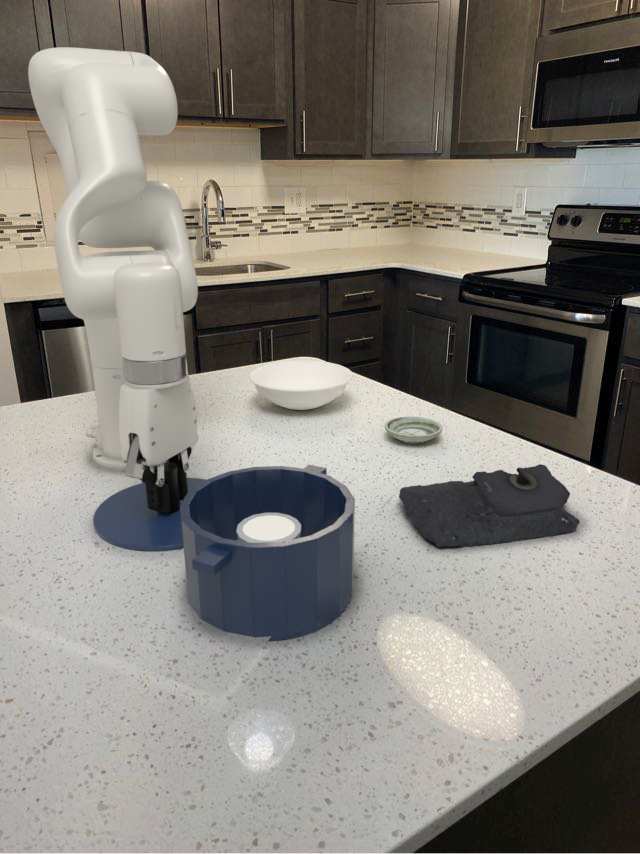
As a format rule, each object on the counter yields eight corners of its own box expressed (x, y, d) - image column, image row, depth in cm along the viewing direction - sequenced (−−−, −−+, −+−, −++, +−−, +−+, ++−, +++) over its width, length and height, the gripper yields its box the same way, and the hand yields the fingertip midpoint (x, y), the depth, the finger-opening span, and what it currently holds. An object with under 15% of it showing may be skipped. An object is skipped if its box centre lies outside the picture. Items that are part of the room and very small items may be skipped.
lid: (61, 533, 83) (52, 482, 81) (158, 475, 99) (154, 430, 97) (184, 570, 75) (179, 514, 73) (268, 501, 91) (267, 453, 89)
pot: (135, 625, 66) (124, 534, 63) (256, 522, 86) (253, 447, 82) (292, 681, 59) (290, 581, 55) (385, 555, 78) (388, 474, 75)
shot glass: (294, 606, 68) (292, 547, 66) (230, 598, 70) (227, 540, 67) (308, 569, 75) (307, 514, 72) (250, 562, 76) (247, 508, 74)
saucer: (448, 434, 114) (449, 420, 114) (430, 453, 106) (431, 439, 106) (396, 424, 119) (397, 412, 118) (375, 443, 111) (375, 429, 110)
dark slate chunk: (386, 497, 92) (387, 466, 91) (527, 479, 97) (530, 449, 96) (430, 554, 78) (432, 518, 77) (592, 530, 84) (597, 496, 82)
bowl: (305, 383, 142) (305, 354, 139) (373, 406, 128) (374, 374, 126) (229, 404, 129) (228, 373, 127) (295, 431, 116) (295, 397, 113)
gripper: (173, 350, 88) (183, 474, 95) (82, 382, 75) (101, 526, 81) (220, 356, 85) (227, 485, 92) (134, 391, 72) (150, 540, 78)
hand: (168, 503), depth 87 cm, fingers closed on lid, 3 cm apart
